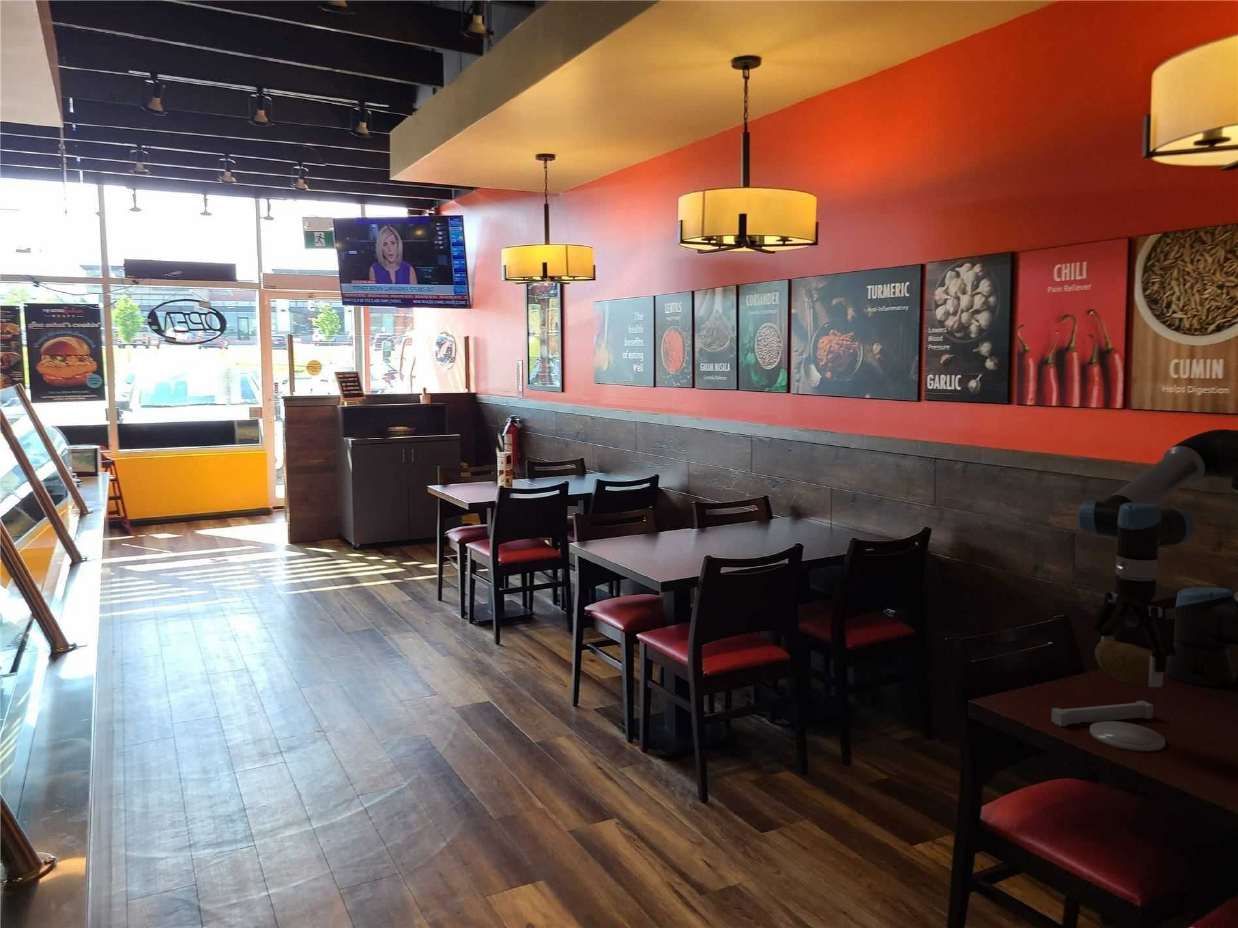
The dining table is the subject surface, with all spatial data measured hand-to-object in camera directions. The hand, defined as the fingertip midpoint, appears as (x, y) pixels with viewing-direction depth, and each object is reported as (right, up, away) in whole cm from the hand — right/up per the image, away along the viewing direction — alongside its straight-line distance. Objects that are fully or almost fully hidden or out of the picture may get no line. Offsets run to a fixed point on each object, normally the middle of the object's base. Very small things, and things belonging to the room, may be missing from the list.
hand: (1129, 675), depth 185 cm
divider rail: (0, -13, +11) cm, 17 cm away
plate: (0, -14, +1) cm, 14 cm away
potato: (0, -1, 0) cm, 1 cm away
